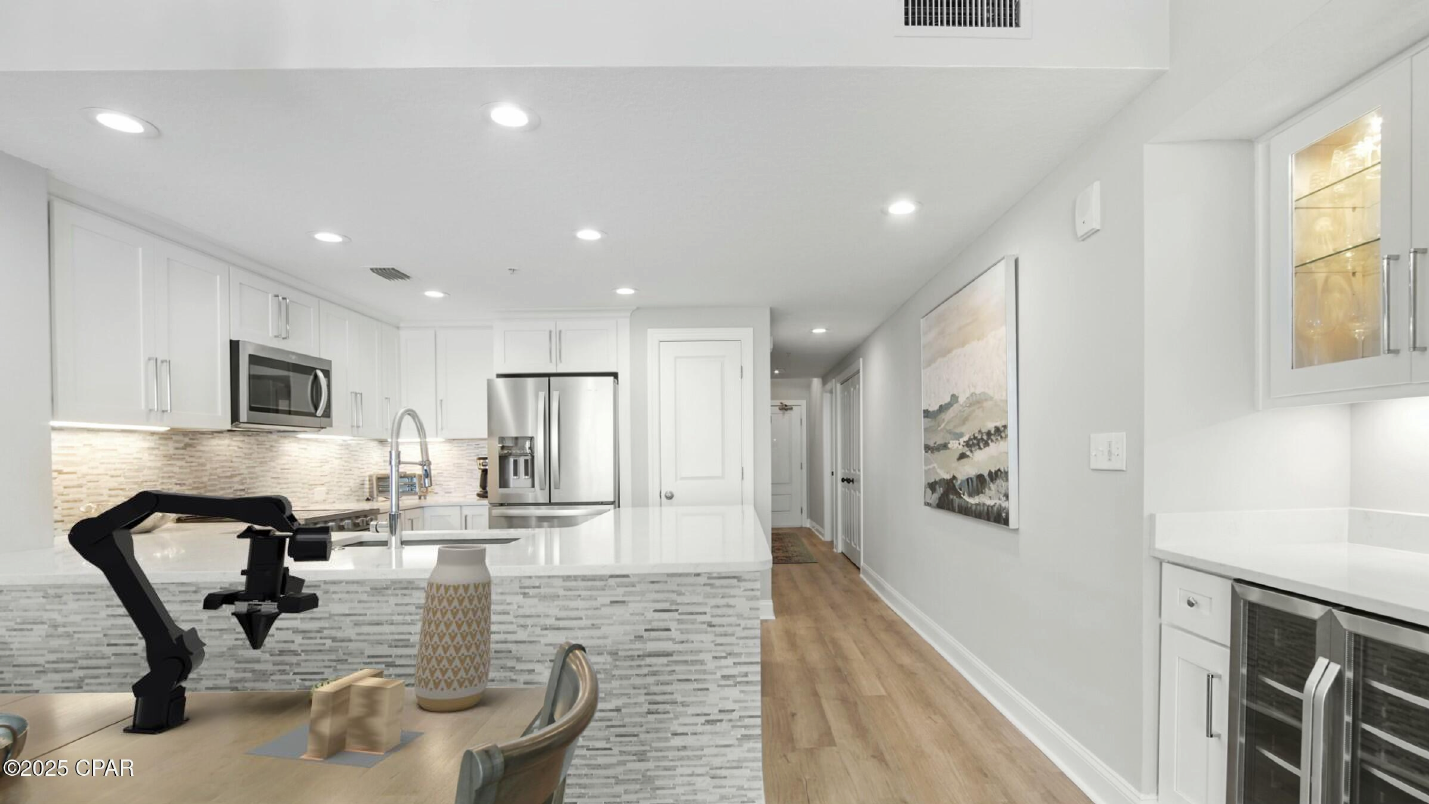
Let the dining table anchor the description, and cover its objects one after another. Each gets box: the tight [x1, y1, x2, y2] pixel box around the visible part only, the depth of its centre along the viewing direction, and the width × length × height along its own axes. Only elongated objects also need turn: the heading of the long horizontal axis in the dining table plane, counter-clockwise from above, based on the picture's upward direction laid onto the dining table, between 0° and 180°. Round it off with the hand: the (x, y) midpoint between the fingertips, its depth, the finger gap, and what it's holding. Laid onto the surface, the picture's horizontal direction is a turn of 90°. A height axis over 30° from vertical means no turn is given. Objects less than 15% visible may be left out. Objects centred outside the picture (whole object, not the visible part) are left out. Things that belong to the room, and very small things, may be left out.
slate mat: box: [244, 722, 426, 769], centre depth 106 cm, size 22×14×1 cm, turn 81°
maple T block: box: [307, 668, 406, 759], centre depth 106 cm, size 10×12×10 cm
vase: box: [414, 543, 492, 713], centre depth 128 cm, size 14×14×31 cm
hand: (256, 649), depth 118 cm, fingers closed
